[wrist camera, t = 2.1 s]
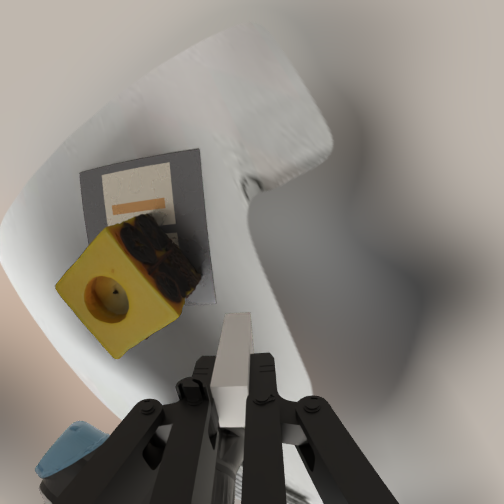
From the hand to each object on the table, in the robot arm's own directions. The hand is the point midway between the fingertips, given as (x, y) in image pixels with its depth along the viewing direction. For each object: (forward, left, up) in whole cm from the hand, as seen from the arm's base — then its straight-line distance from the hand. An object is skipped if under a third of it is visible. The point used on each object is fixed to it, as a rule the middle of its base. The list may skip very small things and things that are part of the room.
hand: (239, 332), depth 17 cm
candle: (0, +12, -16) cm, 20 cm away
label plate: (+4, +12, -16) cm, 20 cm away
